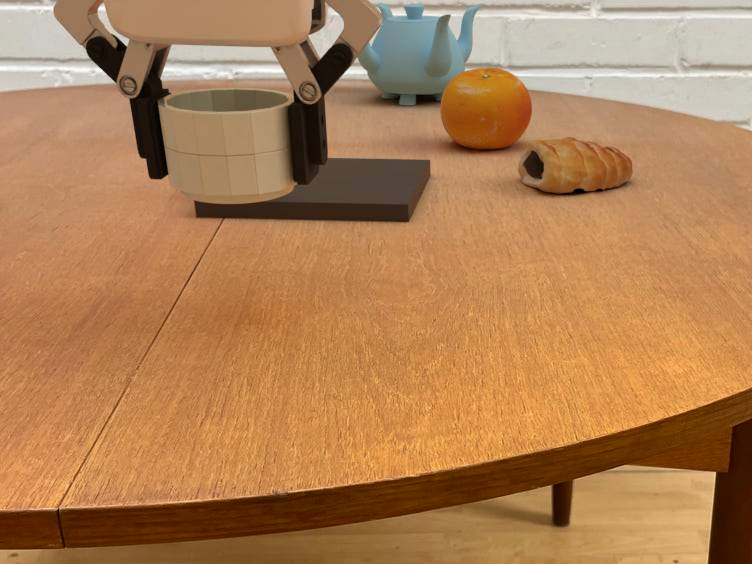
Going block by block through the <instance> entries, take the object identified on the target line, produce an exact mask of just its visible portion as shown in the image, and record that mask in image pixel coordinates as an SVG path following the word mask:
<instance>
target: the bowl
mask: <svg viewBox="0 0 752 564" xmlns="http://www.w3.org/2000/svg"><path fill="white" fill-rule="evenodd" d="M293 102H294V94H291V93H288V92H286V91H285V92H284V91H281V90H276V89H267V88H258V87H257V88H255V87H215V88H214V87H212V88H211V87H210V88H201V89H192V90H186V91H185V90H183V91H180V92H175V93H171V94H170V95H167V96H165V97H163V98H161V99H159V100H158V101H157V103H158V110H159V117H160V123H161V130H162V137H163V144H164V150H165V157H166V164H167V170H168V175H167V176H168V177H167V178H168V182H169V185H170V187H171V188H174V189H176V190H178V191H179V192H180V194H181V195H182V196H183V197H184V198H187V199H189V200H192V201H194V200H195V201H200V202H206V203H216V204H243V203H254V202H261V201H267V200H272V199H275V198H279V197H282V196H284V195H286V194H288V193H290V192H291V191H292V190H293V189H294V186H295V185H297V182H294V180H293V171H292V159H291V147H290V135H289V123H288V106H289V105H290V104H291V103H293Z"/></svg>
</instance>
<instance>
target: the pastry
mask: <svg viewBox="0 0 752 564" xmlns="http://www.w3.org/2000/svg"><path fill="white" fill-rule="evenodd" d="M517 172H518V174H519V176H520V178H521V183H522V184H523V185H525V186H526V187H530V188H537V189H538V190H540V191H542V192H545V193H554V194H556V195H560V194H565V193H571V194H572V193H573V192H574V190H577V189H582V190H583V191H584V192H594V191H596V190H598V189H600V190H601V189H602V191H605V190H606V189H611V188H617V187H619V186H620V185H623V184H625V183H626V181H630V180H631V179H632V176H633V173H634V170H633V161H632V158H630V157H629V156H628V155H626V154H625V153H624V152H622V151H621V150H620V149H618V148H616V147H614V146H610V145H606V146H602V145H600V143H598V142H596V141H588V140H581V139H580V140H578V139H576V138H575V137H570V136H567V137H564V138H561V139H558V138H557V139H544V140H543V139H538V140H532V141H529V142H527V144H526V145H525V150H524V151H523V152H522V154H521V155H520V160H519V162H518V167H517Z"/></svg>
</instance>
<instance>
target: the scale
mask: <svg viewBox="0 0 752 564" xmlns="http://www.w3.org/2000/svg"><path fill="white" fill-rule="evenodd" d="M430 178H431V159H416V158H415V159H411V158H409V159H408V158H407V159H404V158H362V157H361V158H357V157H355V158H353V157H328V158H327V162H326V164H325V165H319V173H318V174H317V175H316V176H315V178H314V179H313V180H312V181H311V182H310V183H309V185H298V184H297V185H295V186H294V189H293V190H292V191H291V192H290V193H288V194H286V195H284V196H282V197H279V198H275V199H272V200H267V201H261V202H254V203H243V204H216V203H206V202H200V201H195V200H193V203H194V204H193V205H194V210H195V217H196V218H199V219H200V218H201V219H203V218H204V219H247V220H248V219H249V220H255V219H256V220H290V221H291V220H294V221H334V222H335V221H336V222H337V221H339V222H378V223H379V222H380V223H410V220H411V219H412V216H413V215H414V212H415V210H416V208H417V205H418V203H419V202H420V201H419V200H420V199H421V198H422V195H423V192H424V191H425V189H426V186H427V184H428V182H429V180H430Z"/></svg>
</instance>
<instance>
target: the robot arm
mask: <svg viewBox="0 0 752 564" xmlns="http://www.w3.org/2000/svg"><path fill="white" fill-rule="evenodd" d="M102 4H104V9H105V13H106V15H107V19H108V22H109V24H110V26H111V28H112V29H113V31H115V32H117V34H119V35H120V36H122V37H124V38H126V39H128V43H127V45H126V44H125V43H124V42H123V41H122V39H120V38H119V37H118V36H116V35H115V34H113V33H111V32H110V31H109V30H108V29H107V28H106V25H105V24H104V23H103V22H102V20H101V19H100V17H99V13H98V12H99V8H100V7H101V5H102ZM329 7H330V8H331V9H333V11H335V12H336V13H337V15H339V16H340V17H341V19H342V22H343V29H342V31H341V32H340V34H339V35H338V37H337V39H335V40H334V42H333V44H332V45H331V47H329V48H328V50H327V51H326V52H325V53H324V54H323V55H322V56H321V58H320V56H319V54H318V52H317V50H316V48H315V46H314V44H313V43H312V40H311V38H310V37H309V36H310V35H313V34H315V33H317V32H319V31H320V30H322V29H323V28H325V26H326V23H327V21H328V15H329V14H328V13H329ZM52 12H53V16H54V18H55V20H56V21H57V22H58V23H59V24H60V25H61V26H62V27H63V28H64V29H65V30H66V31H67V33H68V34H69V35H70V36H71V37H72V38H73V39H74V40H75V41H76V43H77V44H78V45H80V46H81V47H83V49H84V50H85V52H86V55H87V57H88V58H89V59H90V61H92V62H93V63H94V64H95V65H96V66H97V67H98V68H99V69H100V70H101V71H102V72H104V73H105V74H106V75H107V76H108V78H110V79H111V80H112V81H113V82H114V83H115V84H116V87H117V90H118V92H119V93H120V94H121V95H122V96H123V97H124V98H127V99H128V100H129V106H130V112H131V118H132V124H133V130H134V136H135V143H136V148H137V153H138V155H139V157H140V158H141V159H142V160H143V159H144V160H145V162H146V168H147V173H148V174H147V175H148V177H149V179H150V180H157V181H159V180H160V181H162V180H163V179H164V178H166V177H167V176H168V170H167V164H166V157H165V150H164V144H163V137H162V130H161V123H160V117H159V110H158V103H157V101H158V100H159V99H161V98H163V97H165V96H167V95H170V94H172V93H171V92H170V89H169V88H163V87H164V86H163V80H162V75H163V72H164V70H165V67H166V63H167V60H168V58H169V55H170V51H171V48H172V45H175V46H176V45H177V46H206V47H207V46H209V47H239V48H240V47H242V48H243V47H246V48H270V49H271V51H272V53H273V54H274V56H275V58H276V60H277V62H278V63H279V65H280V67H281V68H282V71H283V72H284V74H285V76H286V78H287V79H288V82H289V83H290V85H291V87H292V89H293V90H292V93H293V94H292V95H294V102H293V103H291V104H290V105H289V106H288V123H289V135H290V147H291V159H292V171H293V180H294V182H297V184H298V185H309V183H310V182H311V181H312V180H313V179H314V178H315V176H316V175H317V174H318V173H319V165H325V164H326V162H327V158H329V151H328V150H329V148H328V147H329V145H328V131H327V115H326V100H325V96H326V94H327V93H328V92H329V91H330V90H331V89H332V88H333V87H334V86H335V85H336V83H337V82H338V81H339V80H340V79H341V78H342V77H343V75H344V74H345V73H346V72H347V71H348V70H349V69H350V67H351V66H353V64H355V61H356V60H357V59H358V58H357V57H358V56H359V54H360V53H361V52H362V50H363V49H364V48H365V47H366V45H367V44H368V43H370V41H371V40H372V39H373V37H374V36H375V35H376V34H377V33H378V31H379V29H380V27H381V25H382V20H383V18H382V14H381V11H380V9H379V8H377V7H376V6H375V5H373V3H372V2H371V1H369V0H58V1H56V3H55V4H54V6H53V11H52Z"/></svg>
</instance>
